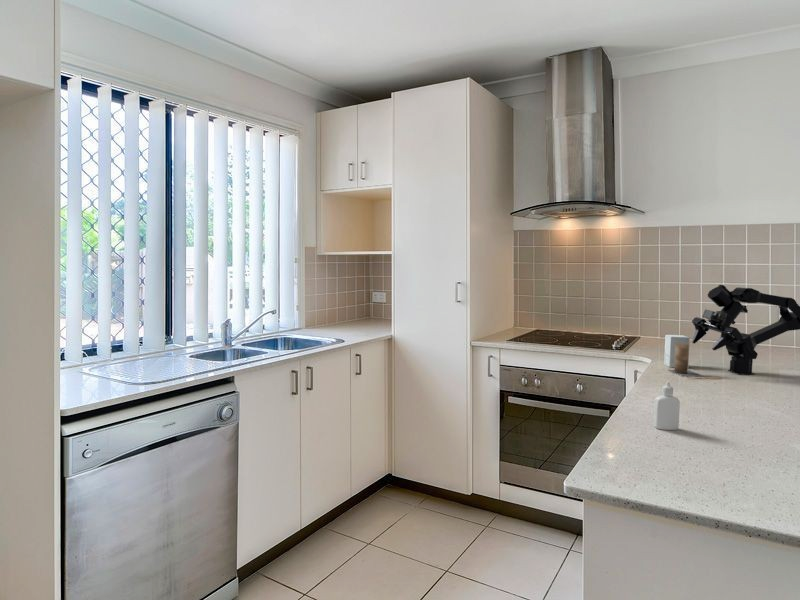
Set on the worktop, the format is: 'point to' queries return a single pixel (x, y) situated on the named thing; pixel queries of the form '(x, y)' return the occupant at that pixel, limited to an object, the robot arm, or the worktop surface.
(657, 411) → the eye dropper bottle
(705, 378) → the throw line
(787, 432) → the worktop surface
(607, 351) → the worktop surface
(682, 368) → the pin
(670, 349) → the supplement box
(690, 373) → the mat
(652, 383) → the worktop surface
